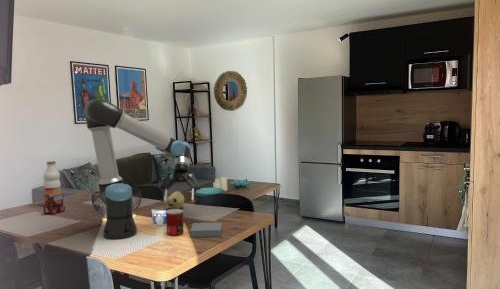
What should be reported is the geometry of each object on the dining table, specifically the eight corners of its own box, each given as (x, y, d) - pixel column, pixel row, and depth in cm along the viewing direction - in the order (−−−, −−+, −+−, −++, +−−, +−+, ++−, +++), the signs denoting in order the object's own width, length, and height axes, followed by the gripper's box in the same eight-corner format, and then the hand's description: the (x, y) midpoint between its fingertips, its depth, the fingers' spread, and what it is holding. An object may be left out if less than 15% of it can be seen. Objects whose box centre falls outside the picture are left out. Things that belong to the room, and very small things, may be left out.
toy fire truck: (40, 214, 210) (39, 197, 210) (59, 209, 222) (58, 192, 221) (48, 216, 207) (47, 198, 207) (67, 210, 219) (66, 193, 218)
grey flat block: (190, 237, 169) (190, 230, 169) (193, 229, 181) (193, 223, 181) (220, 236, 170) (220, 230, 169) (221, 228, 182) (221, 222, 181)
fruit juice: (63, 205, 231) (60, 161, 229) (46, 208, 225) (43, 163, 223) (60, 203, 239) (58, 160, 236) (43, 205, 233) (41, 161, 231)
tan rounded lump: (162, 210, 216) (161, 193, 216) (174, 206, 227) (173, 189, 227) (176, 212, 213) (175, 194, 212) (187, 207, 224) (187, 190, 223)
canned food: (179, 236, 170) (179, 213, 169) (163, 235, 172) (163, 212, 171) (186, 231, 178) (185, 209, 177) (170, 230, 179) (170, 208, 178)
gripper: (205, 170, 200) (204, 204, 186) (159, 171, 198) (154, 205, 185) (204, 162, 194) (203, 196, 181) (157, 163, 193) (152, 197, 179)
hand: (178, 201), depth 183 cm, fingers open, 13 cm apart
